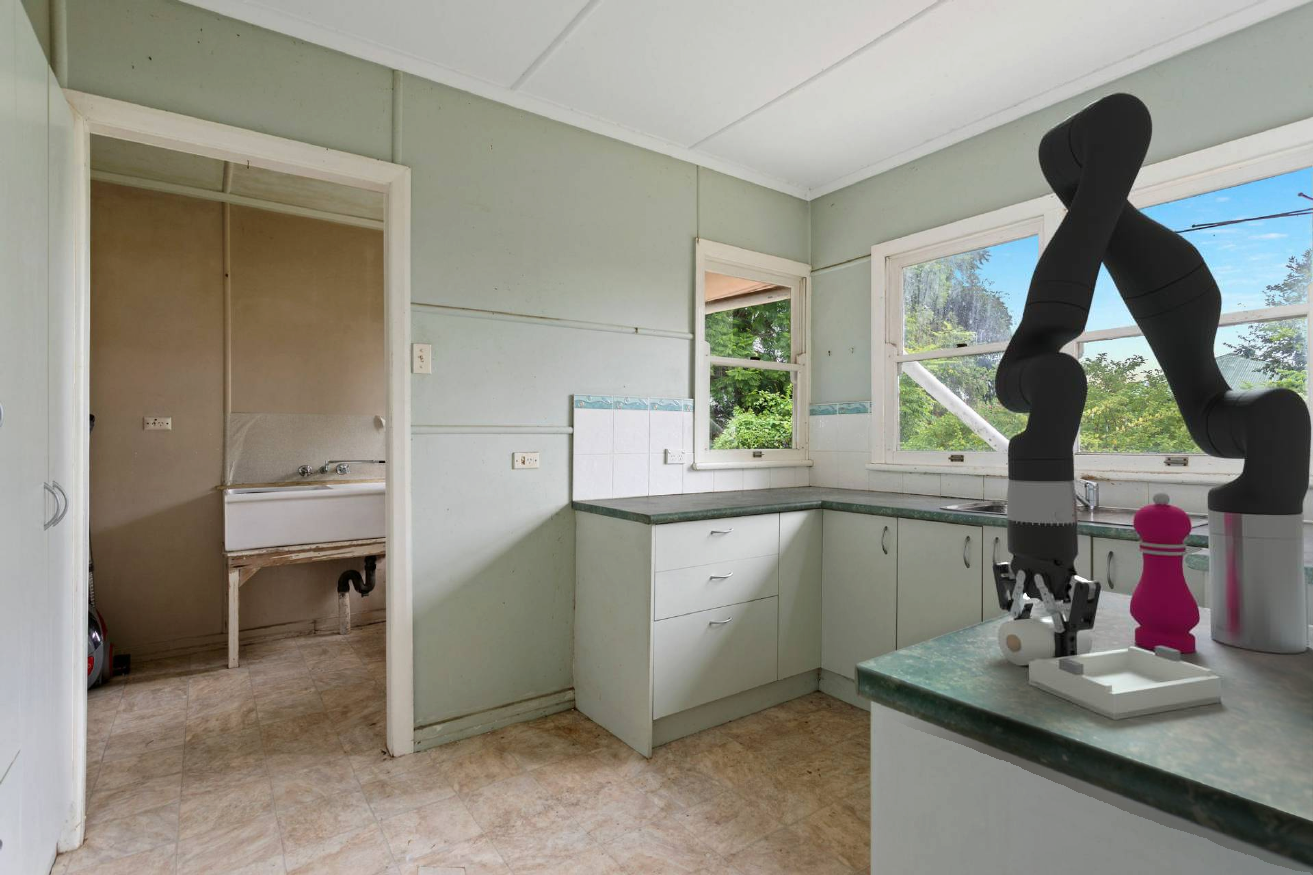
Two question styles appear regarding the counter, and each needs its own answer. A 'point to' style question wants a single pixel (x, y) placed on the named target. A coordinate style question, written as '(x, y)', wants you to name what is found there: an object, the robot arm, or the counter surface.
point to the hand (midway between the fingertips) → (1044, 654)
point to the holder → (1127, 681)
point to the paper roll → (1034, 640)
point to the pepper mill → (1163, 579)
